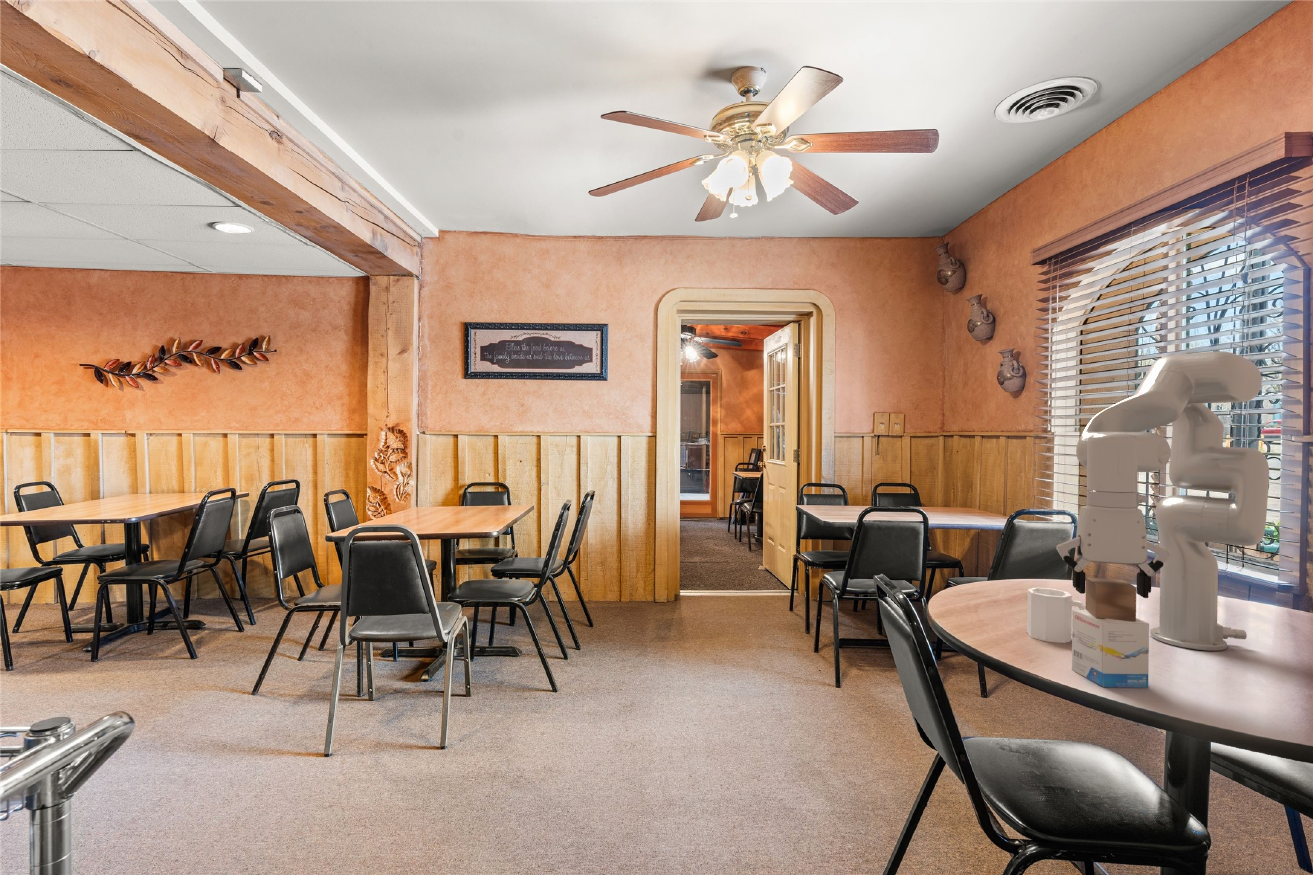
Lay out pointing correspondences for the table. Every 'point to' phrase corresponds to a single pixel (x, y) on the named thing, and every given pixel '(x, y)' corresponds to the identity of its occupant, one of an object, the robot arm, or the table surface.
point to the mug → (1050, 614)
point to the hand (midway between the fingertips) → (1110, 594)
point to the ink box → (1110, 650)
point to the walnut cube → (1111, 599)
